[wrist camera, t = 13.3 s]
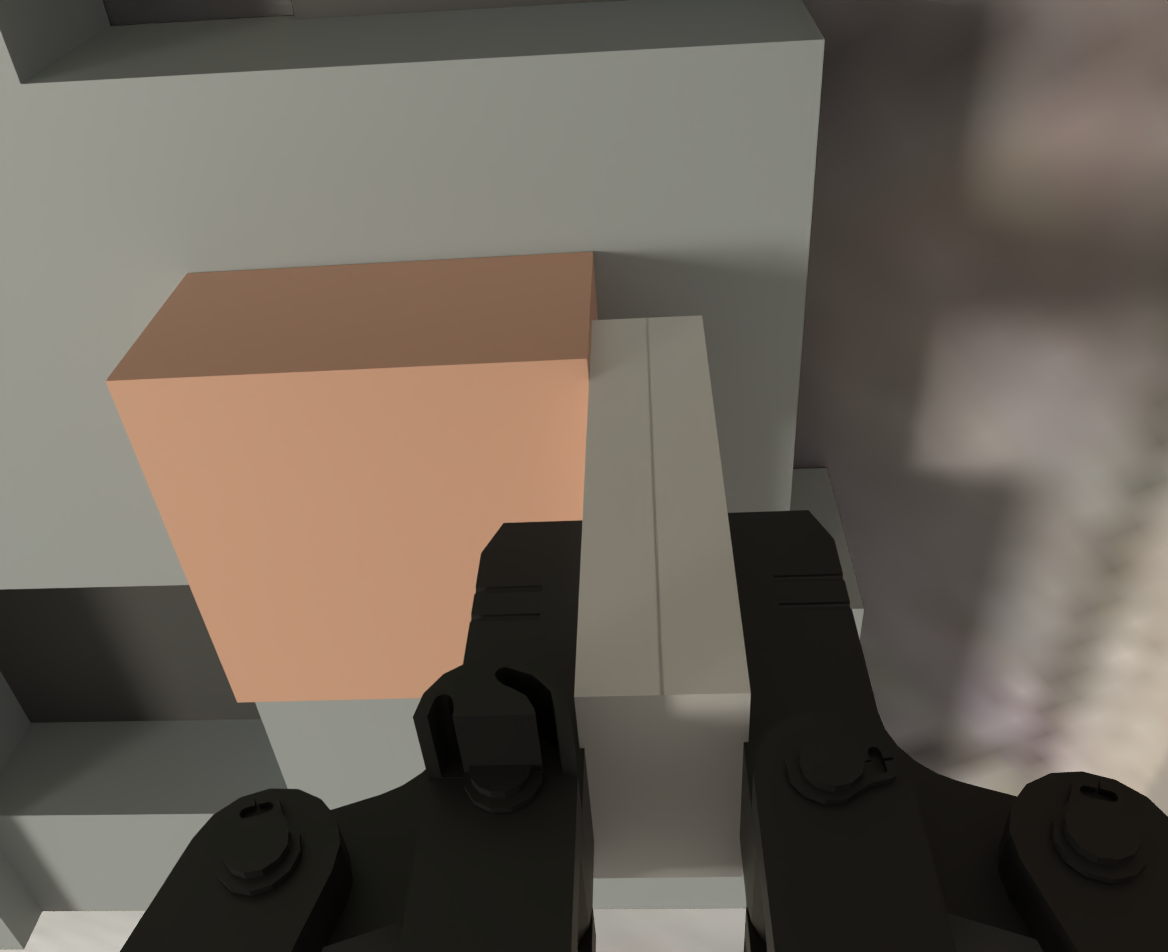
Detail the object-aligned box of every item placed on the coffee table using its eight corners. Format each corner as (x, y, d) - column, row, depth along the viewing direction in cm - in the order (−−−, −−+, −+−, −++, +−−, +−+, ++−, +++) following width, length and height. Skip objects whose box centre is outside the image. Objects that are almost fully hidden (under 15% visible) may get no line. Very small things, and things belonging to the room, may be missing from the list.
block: (286, 574, 19) (237, 702, 16) (186, 273, 15) (105, 381, 13) (615, 564, 18) (614, 693, 16) (593, 251, 15) (586, 358, 12)
